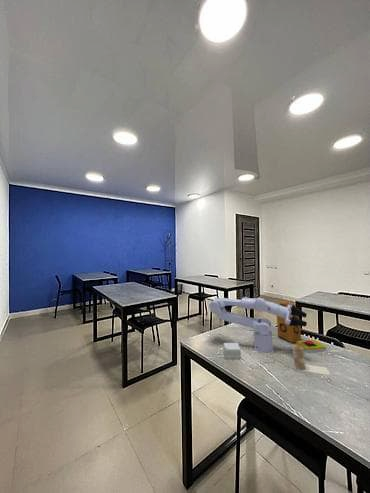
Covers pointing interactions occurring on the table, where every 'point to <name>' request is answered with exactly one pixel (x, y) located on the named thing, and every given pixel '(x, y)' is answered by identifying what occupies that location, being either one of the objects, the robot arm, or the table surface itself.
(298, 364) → the wooden block
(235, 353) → the small box
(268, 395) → the table surface
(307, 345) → the emergency button
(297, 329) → the coffee package
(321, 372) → the rubber mat
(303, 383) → the table surface
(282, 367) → the table surface
